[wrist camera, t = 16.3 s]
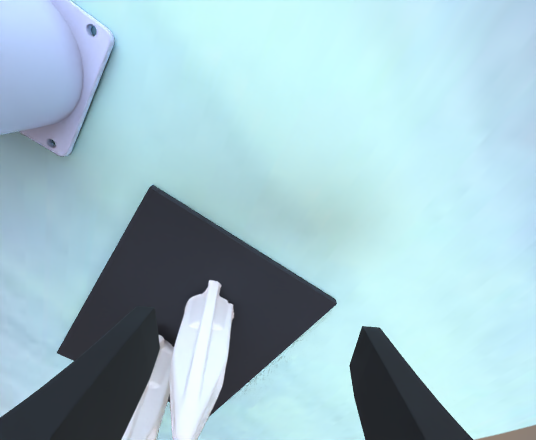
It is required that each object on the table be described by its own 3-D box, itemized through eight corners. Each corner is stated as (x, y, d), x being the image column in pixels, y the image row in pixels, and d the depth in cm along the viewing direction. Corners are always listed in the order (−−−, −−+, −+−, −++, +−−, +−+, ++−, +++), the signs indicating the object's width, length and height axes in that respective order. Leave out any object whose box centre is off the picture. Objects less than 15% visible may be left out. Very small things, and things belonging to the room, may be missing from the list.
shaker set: (163, 372, 26) (93, 550, 16) (125, 350, 25) (24, 526, 15) (252, 307, 22) (230, 491, 12) (212, 276, 21) (152, 452, 11)
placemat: (60, 348, 26) (56, 353, 26) (152, 184, 18) (149, 187, 18) (208, 413, 30) (207, 418, 29) (335, 299, 22) (337, 303, 22)
